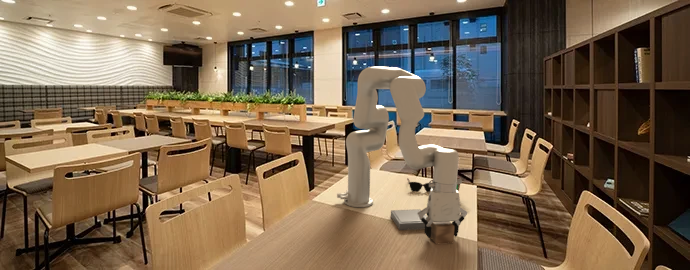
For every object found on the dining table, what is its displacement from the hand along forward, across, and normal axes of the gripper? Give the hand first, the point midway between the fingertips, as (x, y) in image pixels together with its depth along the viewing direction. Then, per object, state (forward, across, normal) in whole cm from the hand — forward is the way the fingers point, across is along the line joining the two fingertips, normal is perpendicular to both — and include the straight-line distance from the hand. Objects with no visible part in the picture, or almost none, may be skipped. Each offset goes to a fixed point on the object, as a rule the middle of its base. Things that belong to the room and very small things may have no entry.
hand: (441, 235), depth 110 cm
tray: (+1, -6, +14) cm, 15 cm away
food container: (+2, +18, +36) cm, 40 cm away
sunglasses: (+2, +13, +54) cm, 56 cm away
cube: (+1, 0, 0) cm, 1 cm away
